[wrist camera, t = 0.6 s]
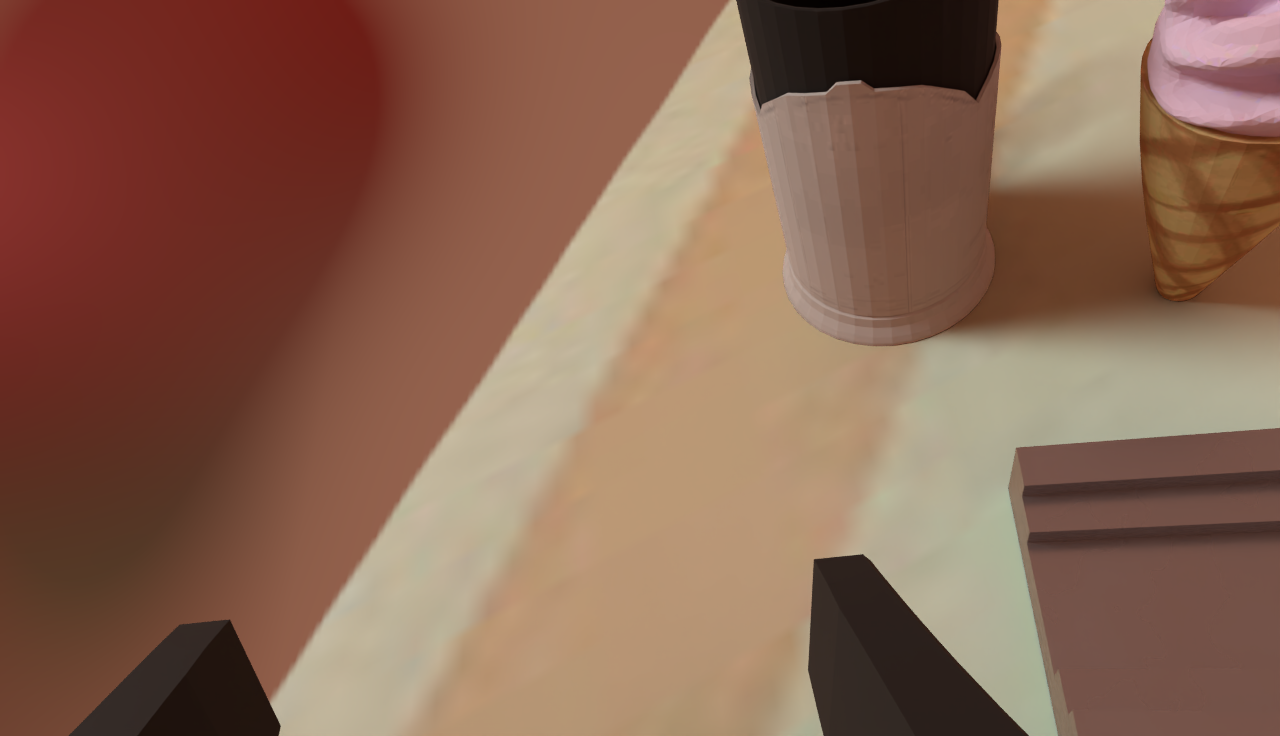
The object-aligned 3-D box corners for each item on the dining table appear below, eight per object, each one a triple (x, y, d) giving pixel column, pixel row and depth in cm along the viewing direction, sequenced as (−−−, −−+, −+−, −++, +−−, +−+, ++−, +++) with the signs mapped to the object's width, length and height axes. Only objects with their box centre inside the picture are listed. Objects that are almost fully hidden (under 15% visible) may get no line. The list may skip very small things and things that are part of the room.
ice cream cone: (1268, 213, 30) (1493, -233, 18) (1327, 350, 27) (1647, -82, 15) (1072, 235, 32) (1157, -152, 20) (1105, 366, 29) (1229, -4, 17)
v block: (1504, 791, 20) (1588, 778, 17) (1067, 777, 23) (1084, 764, 20) (1354, 467, 25) (1403, 418, 22) (1008, 488, 28) (1016, 447, 25)
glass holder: (767, 340, 34) (676, 41, 22) (816, 108, 40) (767, -220, 28) (990, 351, 30) (1029, 6, 18) (1004, 96, 37) (1039, -280, 25)
